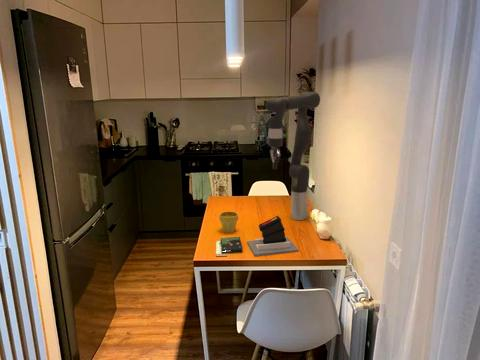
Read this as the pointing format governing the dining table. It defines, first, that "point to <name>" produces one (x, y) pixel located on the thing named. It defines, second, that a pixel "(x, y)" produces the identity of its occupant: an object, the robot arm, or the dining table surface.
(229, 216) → the plant pot
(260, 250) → the rail board
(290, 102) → the robot arm
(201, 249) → the dining table surface
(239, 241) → the disk drive
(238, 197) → the dining table surface
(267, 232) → the magazine
